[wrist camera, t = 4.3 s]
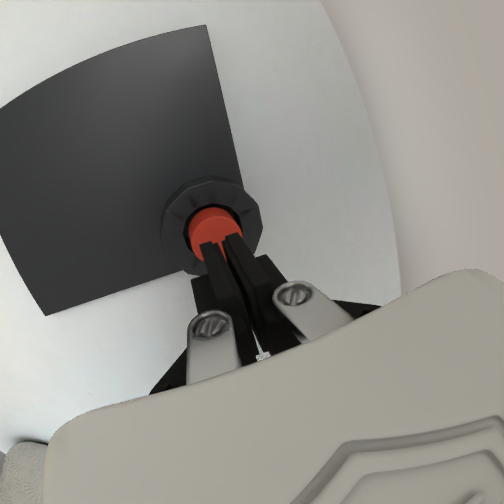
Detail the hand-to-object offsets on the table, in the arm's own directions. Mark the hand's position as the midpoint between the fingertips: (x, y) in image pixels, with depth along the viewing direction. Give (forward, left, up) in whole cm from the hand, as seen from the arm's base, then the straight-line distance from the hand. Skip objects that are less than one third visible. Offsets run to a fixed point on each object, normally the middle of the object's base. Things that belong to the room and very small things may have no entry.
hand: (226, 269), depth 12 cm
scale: (+5, -5, -7) cm, 10 cm away
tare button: (0, 0, -4) cm, 4 cm away
